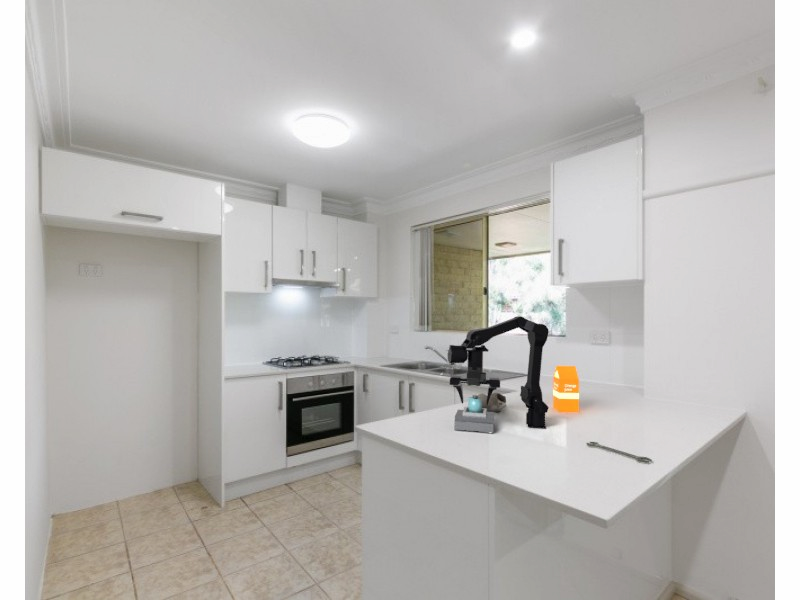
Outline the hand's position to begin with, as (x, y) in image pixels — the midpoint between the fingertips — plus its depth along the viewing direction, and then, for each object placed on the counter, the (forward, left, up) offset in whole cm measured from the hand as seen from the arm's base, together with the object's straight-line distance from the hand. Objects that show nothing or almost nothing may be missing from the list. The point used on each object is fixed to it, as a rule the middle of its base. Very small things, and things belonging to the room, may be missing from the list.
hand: (474, 404), depth 157 cm
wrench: (-46, +16, -9) cm, 49 cm away
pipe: (-5, -30, -9) cm, 32 cm away
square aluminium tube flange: (0, 0, -9) cm, 9 cm away
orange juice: (-38, -40, -9) cm, 56 cm away
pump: (0, 0, -4) cm, 4 cm away
